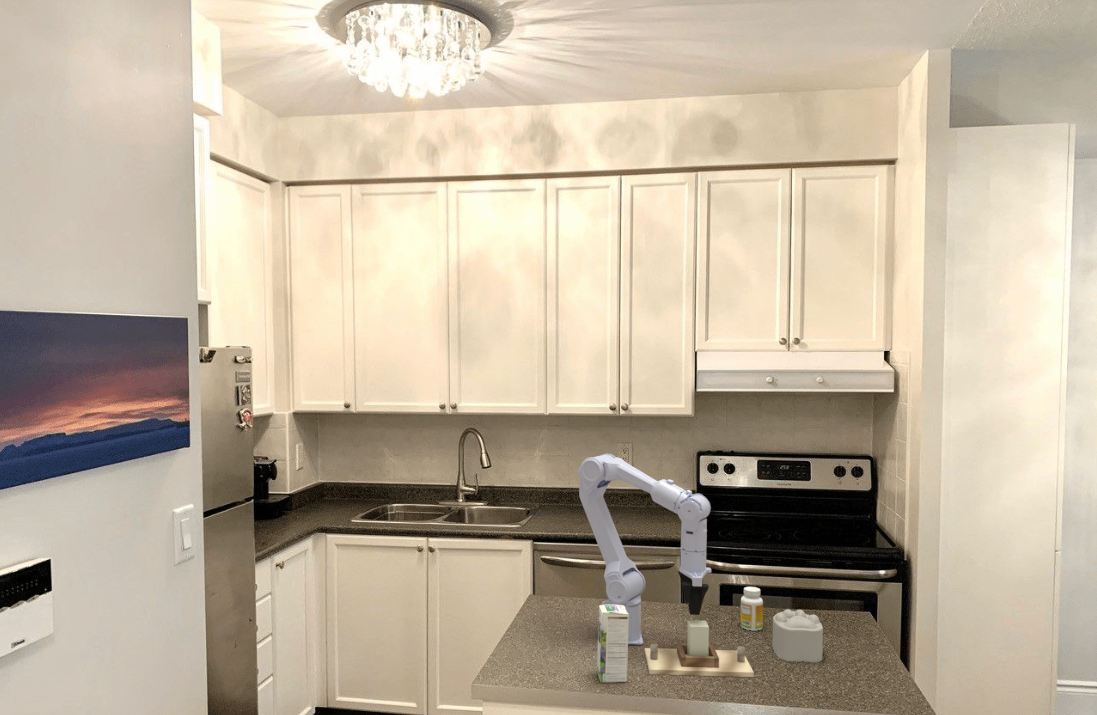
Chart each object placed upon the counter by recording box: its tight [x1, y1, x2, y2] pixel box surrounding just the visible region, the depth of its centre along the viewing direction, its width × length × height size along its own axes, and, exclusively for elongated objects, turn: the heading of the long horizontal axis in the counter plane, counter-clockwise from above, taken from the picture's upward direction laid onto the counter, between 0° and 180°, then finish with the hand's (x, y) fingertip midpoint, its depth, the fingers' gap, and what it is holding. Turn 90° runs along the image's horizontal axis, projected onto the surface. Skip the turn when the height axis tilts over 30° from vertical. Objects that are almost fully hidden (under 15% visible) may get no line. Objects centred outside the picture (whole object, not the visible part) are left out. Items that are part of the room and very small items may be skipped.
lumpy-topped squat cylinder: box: [771, 608, 824, 663], centre depth 181 cm, size 10×13×9 cm
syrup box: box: [596, 604, 629, 684], centre depth 165 cm, size 6×6×14 cm
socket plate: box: [644, 643, 755, 678], centre depth 173 cm, size 22×12×4 cm, turn 88°
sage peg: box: [686, 619, 710, 656], centre depth 173 cm, size 4×4×8 cm
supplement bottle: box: [740, 586, 764, 632], centre depth 196 cm, size 5×5×10 cm
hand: (692, 608), depth 178 cm, fingers open, 7 cm apart
